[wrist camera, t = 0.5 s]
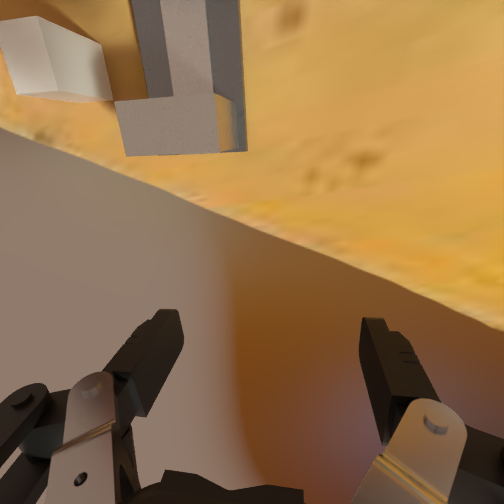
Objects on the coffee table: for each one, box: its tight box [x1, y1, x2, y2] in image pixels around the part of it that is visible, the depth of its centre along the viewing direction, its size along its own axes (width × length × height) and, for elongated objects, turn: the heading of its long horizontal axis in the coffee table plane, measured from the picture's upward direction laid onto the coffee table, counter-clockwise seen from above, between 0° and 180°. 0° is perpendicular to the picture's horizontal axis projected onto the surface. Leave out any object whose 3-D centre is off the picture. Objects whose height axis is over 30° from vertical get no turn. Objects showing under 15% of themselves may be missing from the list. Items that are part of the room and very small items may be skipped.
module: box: [0, 16, 113, 103], centre depth 31 cm, size 6×5×9 cm
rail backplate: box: [114, 0, 248, 157], centre depth 27 cm, size 24×12×10 cm, turn 3°
